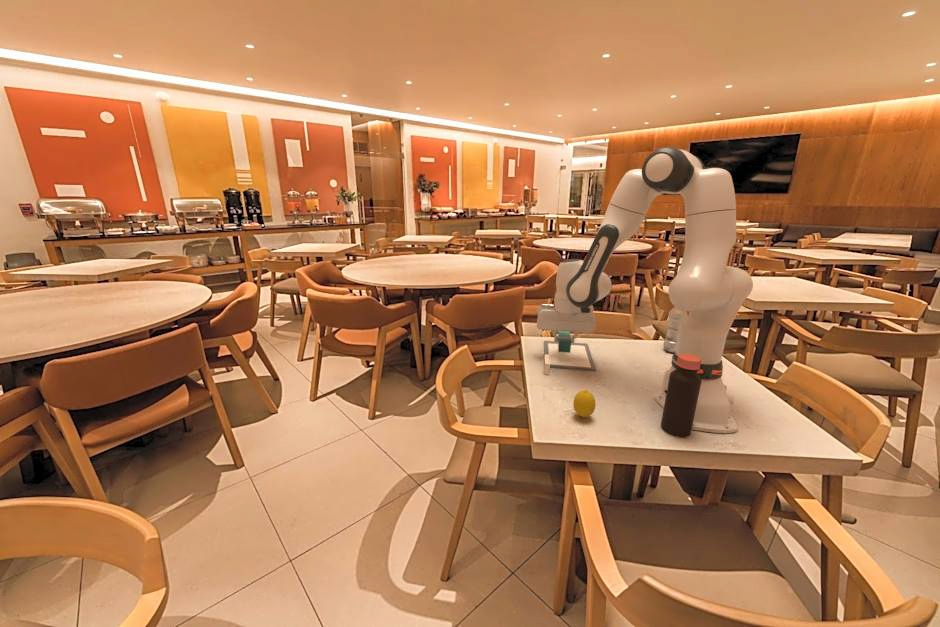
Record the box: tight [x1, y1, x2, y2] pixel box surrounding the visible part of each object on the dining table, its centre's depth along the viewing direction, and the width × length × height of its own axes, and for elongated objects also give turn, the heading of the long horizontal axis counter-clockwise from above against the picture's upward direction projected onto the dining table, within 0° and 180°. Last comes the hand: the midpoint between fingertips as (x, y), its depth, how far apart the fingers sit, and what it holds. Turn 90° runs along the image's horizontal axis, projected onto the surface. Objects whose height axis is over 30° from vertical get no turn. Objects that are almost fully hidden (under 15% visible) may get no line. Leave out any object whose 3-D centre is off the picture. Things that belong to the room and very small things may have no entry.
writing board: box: [543, 340, 597, 372], centre depth 140 cm, size 24×17×1 cm
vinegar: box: [660, 354, 702, 438], centre depth 92 cm, size 7×7×20 cm
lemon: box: [573, 389, 596, 418], centre depth 99 cm, size 6×6×8 cm
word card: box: [543, 354, 551, 376], centre depth 128 cm, size 8×2×4 cm, turn 170°
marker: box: [557, 331, 571, 353], centre depth 136 cm, size 13×4×4 cm, turn 169°
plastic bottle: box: [663, 306, 689, 354], centre depth 142 cm, size 6×7×20 cm
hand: (564, 342), depth 135 cm, fingers closed on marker, 4 cm apart
